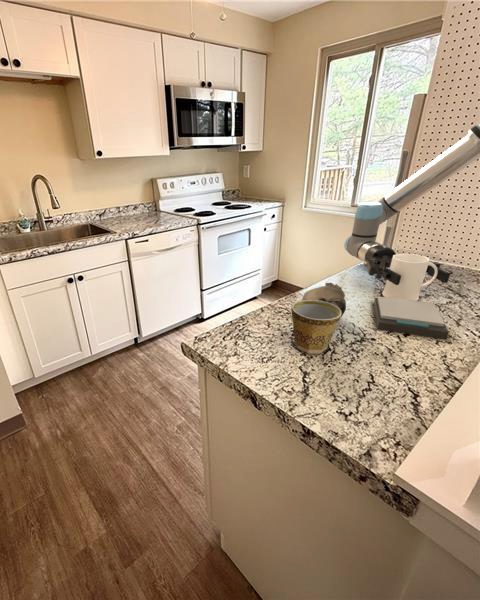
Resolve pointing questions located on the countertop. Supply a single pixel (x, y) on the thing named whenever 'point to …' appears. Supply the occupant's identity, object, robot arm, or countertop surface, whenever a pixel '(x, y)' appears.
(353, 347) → the countertop surface
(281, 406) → the countertop surface
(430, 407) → the countertop surface
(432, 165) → the robot arm
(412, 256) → the mug
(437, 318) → the scale
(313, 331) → the ceramic cup
